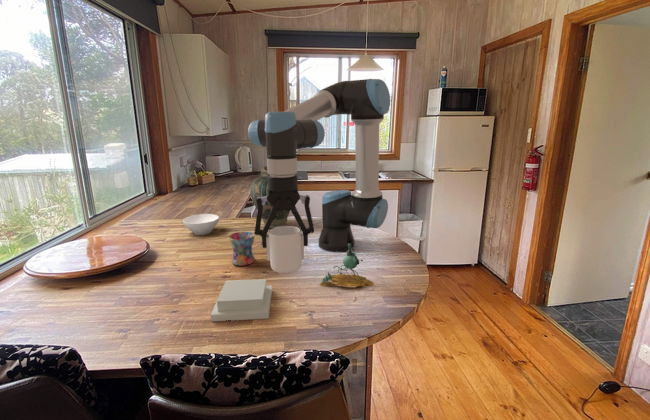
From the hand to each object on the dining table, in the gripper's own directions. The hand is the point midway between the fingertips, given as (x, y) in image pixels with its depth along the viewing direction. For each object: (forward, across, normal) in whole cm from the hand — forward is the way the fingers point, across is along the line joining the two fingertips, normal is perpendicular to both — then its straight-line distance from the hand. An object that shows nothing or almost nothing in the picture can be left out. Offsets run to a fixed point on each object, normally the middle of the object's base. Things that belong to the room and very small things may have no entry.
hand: (285, 257), depth 92 cm
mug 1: (+16, +16, -35) cm, 41 cm away
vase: (+16, +6, -77) cm, 79 cm away
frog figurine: (+16, -19, -13) cm, 28 cm away
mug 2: (+2, 0, 0) cm, 2 cm away
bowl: (+16, +40, -71) cm, 83 cm away
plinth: (+15, +12, -3) cm, 20 cm away
